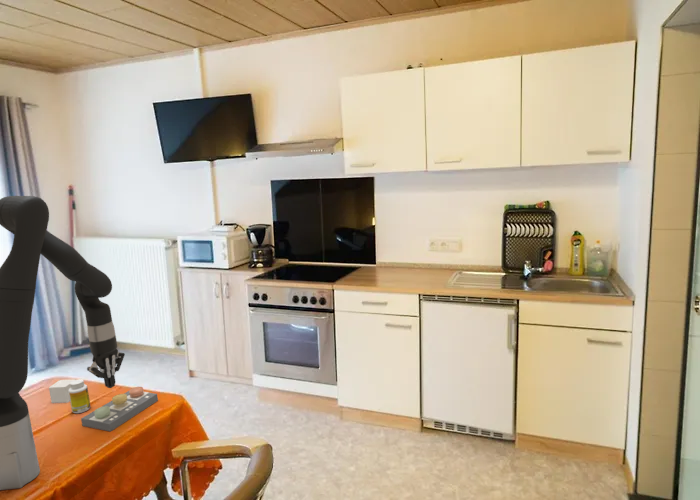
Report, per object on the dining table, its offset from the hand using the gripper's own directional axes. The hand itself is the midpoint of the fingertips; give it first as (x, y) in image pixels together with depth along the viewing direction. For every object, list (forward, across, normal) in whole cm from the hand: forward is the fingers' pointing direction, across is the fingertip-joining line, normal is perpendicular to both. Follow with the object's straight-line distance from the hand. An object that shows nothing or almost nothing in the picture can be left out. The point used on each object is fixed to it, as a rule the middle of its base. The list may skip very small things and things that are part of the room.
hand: (110, 386), depth 152 cm
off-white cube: (+11, +4, +29) cm, 31 cm away
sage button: (+7, -5, 0) cm, 9 cm away
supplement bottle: (+11, 0, +16) cm, 19 cm away
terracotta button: (+7, +9, 0) cm, 12 cm away
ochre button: (+7, +2, 0) cm, 7 cm away
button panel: (+11, +2, 0) cm, 11 cm away
